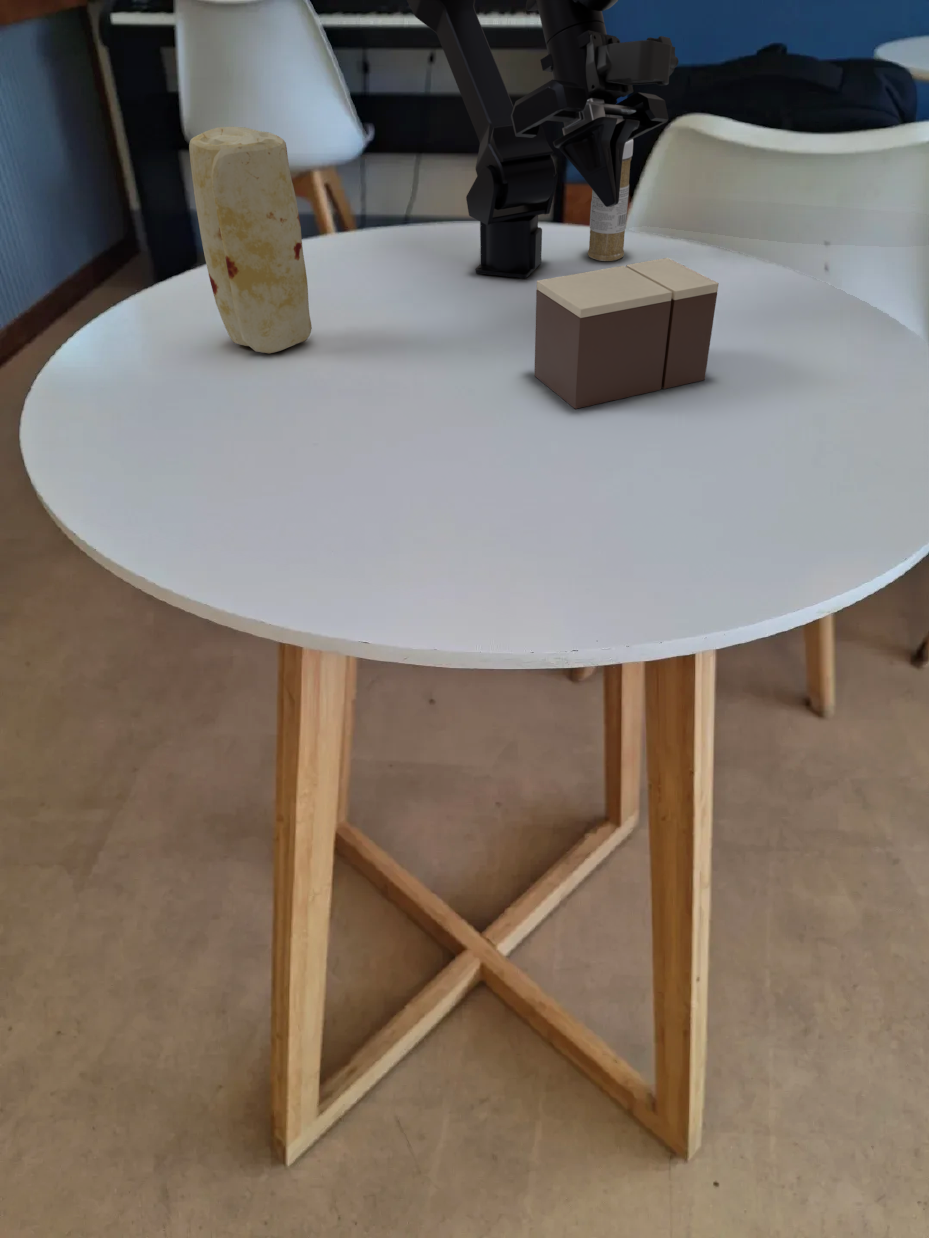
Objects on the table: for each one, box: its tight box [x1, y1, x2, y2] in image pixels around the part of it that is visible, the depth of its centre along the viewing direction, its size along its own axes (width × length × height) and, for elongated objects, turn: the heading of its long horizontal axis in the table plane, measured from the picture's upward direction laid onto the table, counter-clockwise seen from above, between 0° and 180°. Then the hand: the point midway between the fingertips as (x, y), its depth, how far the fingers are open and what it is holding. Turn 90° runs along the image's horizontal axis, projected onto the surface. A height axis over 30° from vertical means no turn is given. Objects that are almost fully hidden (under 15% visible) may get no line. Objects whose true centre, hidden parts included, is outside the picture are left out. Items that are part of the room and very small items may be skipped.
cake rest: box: [533, 265, 672, 410], centre depth 84 cm, size 8×9×9 cm
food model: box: [188, 126, 313, 355], centre depth 90 cm, size 10×7×20 cm
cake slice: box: [625, 257, 719, 390], centre depth 87 cm, size 8×4×9 cm, turn 24°
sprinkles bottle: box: [587, 139, 634, 262], centre depth 112 cm, size 5×5×14 cm
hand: (612, 205), depth 92 cm, fingers closed
